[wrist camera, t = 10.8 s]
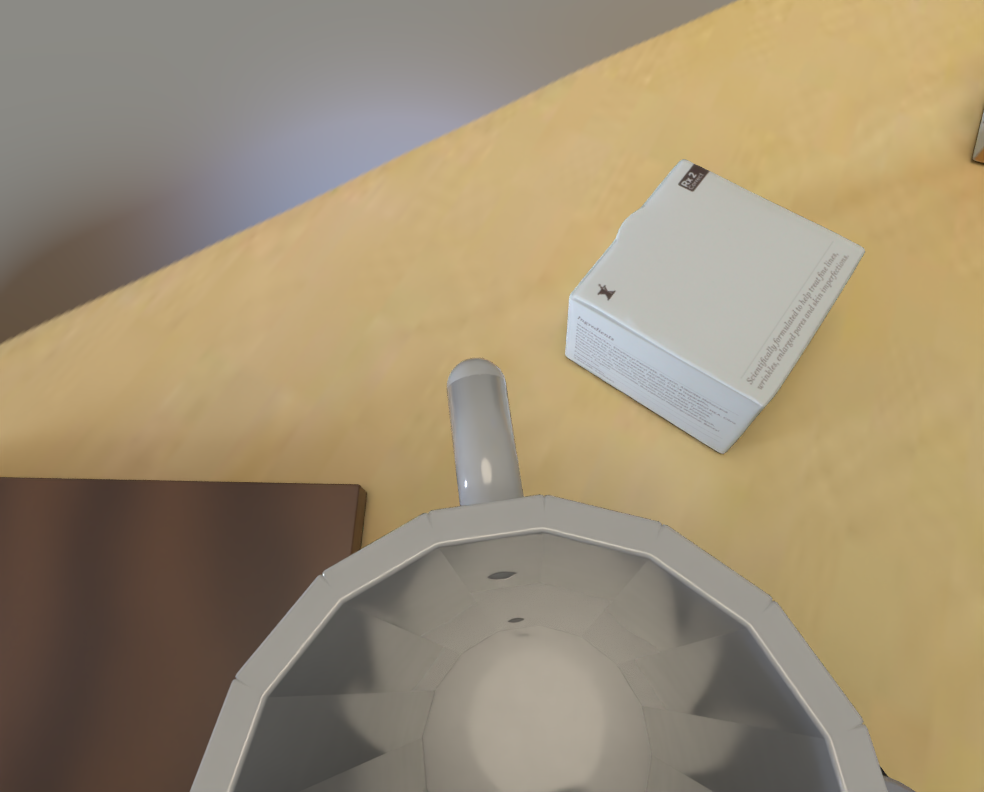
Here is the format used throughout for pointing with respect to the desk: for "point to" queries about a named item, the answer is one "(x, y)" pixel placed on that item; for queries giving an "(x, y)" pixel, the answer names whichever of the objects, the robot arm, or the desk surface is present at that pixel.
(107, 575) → the walnut board
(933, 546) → the desk surface
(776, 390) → the small box
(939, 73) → the desk surface
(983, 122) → the small box
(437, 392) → the desk surface
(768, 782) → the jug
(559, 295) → the desk surface
